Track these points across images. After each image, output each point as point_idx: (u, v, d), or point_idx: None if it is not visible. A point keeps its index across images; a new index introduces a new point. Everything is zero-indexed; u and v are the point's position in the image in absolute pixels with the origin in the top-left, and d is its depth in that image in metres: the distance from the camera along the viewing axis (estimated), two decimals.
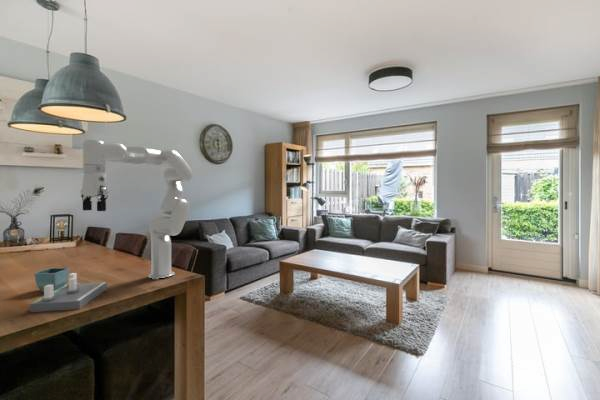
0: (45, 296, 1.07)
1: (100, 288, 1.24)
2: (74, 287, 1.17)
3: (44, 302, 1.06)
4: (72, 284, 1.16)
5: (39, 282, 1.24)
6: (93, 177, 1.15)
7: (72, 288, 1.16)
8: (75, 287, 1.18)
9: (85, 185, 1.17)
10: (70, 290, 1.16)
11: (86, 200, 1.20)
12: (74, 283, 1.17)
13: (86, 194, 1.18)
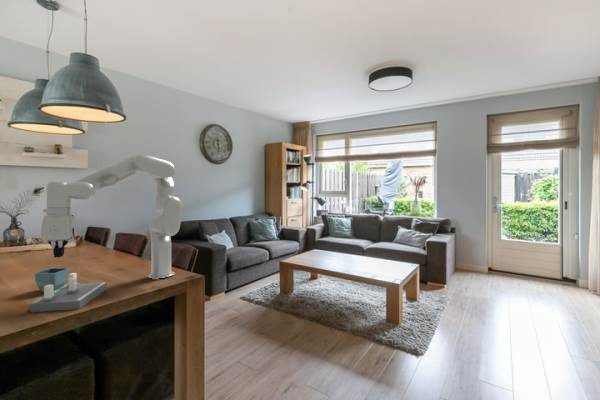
0: (45, 296, 1.07)
1: (100, 288, 1.24)
2: (74, 287, 1.17)
3: (44, 302, 1.06)
4: (72, 284, 1.16)
5: (39, 282, 1.24)
6: None
7: (72, 288, 1.16)
8: (75, 287, 1.18)
9: None
10: (70, 290, 1.16)
11: None
12: (74, 283, 1.17)
13: None
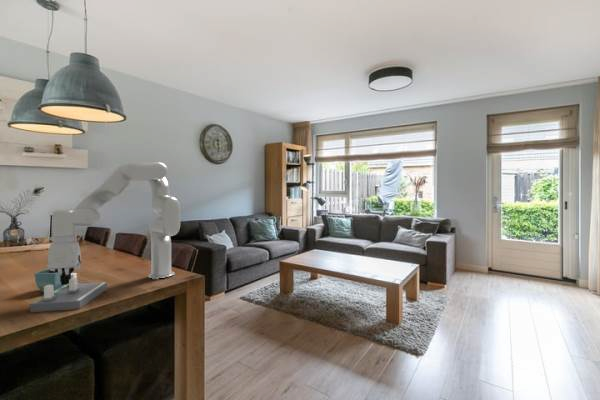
0: (45, 296, 1.07)
1: (100, 288, 1.24)
2: (75, 287, 1.17)
3: (44, 302, 1.06)
4: (73, 284, 1.16)
5: (39, 282, 1.24)
6: None
7: (73, 288, 1.16)
8: (76, 287, 1.18)
9: None
10: (71, 290, 1.16)
11: None
12: (74, 283, 1.17)
13: None
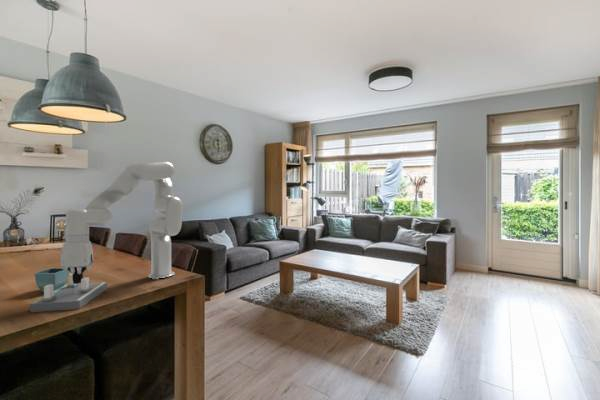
0: (45, 296, 1.07)
1: (100, 288, 1.24)
2: (86, 286, 1.18)
3: (44, 302, 1.06)
4: (84, 283, 1.17)
5: (39, 282, 1.24)
6: None
7: (84, 287, 1.17)
8: (87, 286, 1.19)
9: None
10: (83, 289, 1.17)
11: None
12: (86, 282, 1.18)
13: None
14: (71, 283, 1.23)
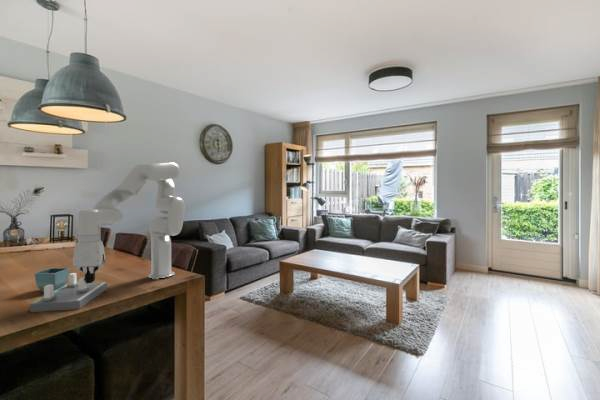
0: (45, 296, 1.07)
1: (100, 288, 1.24)
2: (84, 286, 1.18)
3: (44, 302, 1.06)
4: (82, 283, 1.17)
5: (39, 282, 1.24)
6: None
7: (82, 287, 1.17)
8: (85, 286, 1.18)
9: None
10: (80, 289, 1.17)
11: None
12: (83, 283, 1.17)
13: None
14: (71, 283, 1.23)
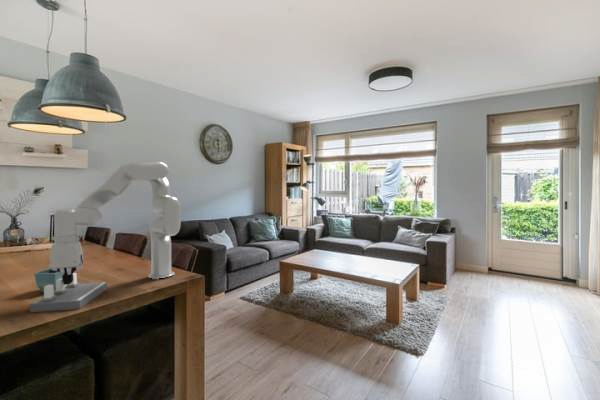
0: (45, 296, 1.07)
1: (100, 288, 1.24)
2: (62, 288, 1.16)
3: (44, 302, 1.06)
4: (59, 285, 1.15)
5: (39, 282, 1.24)
6: None
7: (59, 289, 1.15)
8: (63, 288, 1.17)
9: None
10: (57, 291, 1.15)
11: None
12: (61, 284, 1.16)
13: None
14: (71, 283, 1.23)
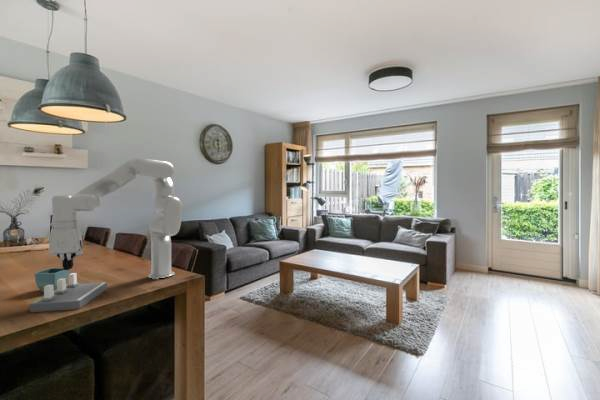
0: (45, 296, 1.07)
1: (100, 288, 1.24)
2: (63, 288, 1.16)
3: (44, 302, 1.06)
4: (61, 285, 1.15)
5: (39, 282, 1.24)
6: None
7: (61, 289, 1.15)
8: (64, 288, 1.17)
9: None
10: (59, 291, 1.15)
11: None
12: (62, 284, 1.16)
13: None
14: (71, 283, 1.23)
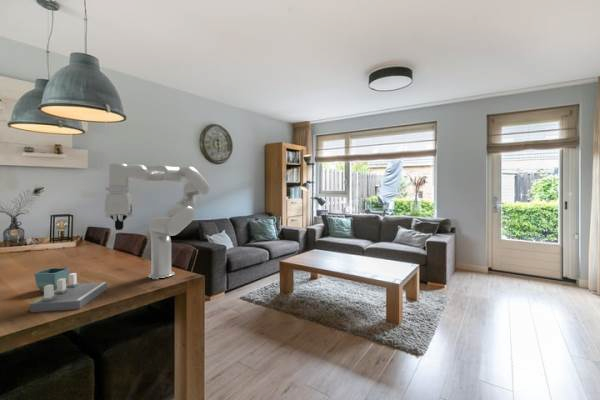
0: (45, 296, 1.07)
1: (100, 288, 1.24)
2: (63, 288, 1.16)
3: (44, 302, 1.06)
4: (61, 285, 1.15)
5: (39, 282, 1.24)
6: None
7: (61, 289, 1.15)
8: (64, 288, 1.17)
9: None
10: (59, 291, 1.15)
11: None
12: (62, 284, 1.16)
13: None
14: (71, 283, 1.23)
